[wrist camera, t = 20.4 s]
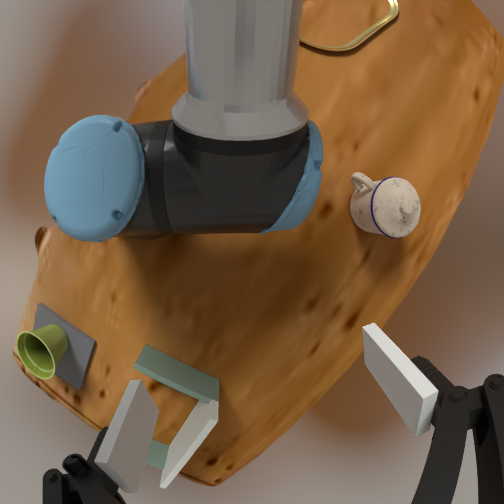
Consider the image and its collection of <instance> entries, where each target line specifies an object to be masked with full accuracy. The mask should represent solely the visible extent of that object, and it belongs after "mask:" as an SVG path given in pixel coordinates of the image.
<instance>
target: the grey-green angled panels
mask: <svg viewBox="0 0 504 504" xmlns="http://www.w3.org/2000/svg"><path fill="white" fill-rule="evenodd" d="M133 368H134V369H136V370H138V371H140V372H142V373H144V374H145V375H147V376H149V377H151V378H153V379H155V380H157V381H159V382H161V383H163V384H165V385H167V386H169V387H172V388H174V389H176V390H178V391H180V392H182V393H185V394H187V395H189V396H191V397H194V398H196V399H198V400H199V401H198V403H197V404H196V406H195V407H194V409H193V410H192V412H191V413H190V415H189V417H188V418H187V420H186V421H185V423H184V424H183V426H182V427H181V429H180V430H179V432H178V433H177V435H176V436H175V438H174V439H173V441H172V443H171V444H170V446H168V445H166V444H163V443H161V442H159V441H156V440H154V439H152V440H151V443H150V447H149V451H148V455H147V458H146V462H145V463H147V464H149V465H152V466H154V467H156V468H159V469H162V470H163V472H162V477H161V482H160V487H162V488H164V489H165V488H166V487H167V486H168V485H169V484H170V482H171V481H172V480H173V479H174V478H175V476H176V475H177V474H178V473H179V471H180V470H181V469H182V468H183V466H184V465H185V464H186V463H187V461H188V460H189V459H190V458H191V456H192V455H193V454H194V452H195V451H196V450H197V449H198V447H199V446H200V445H201V443H202V442H203V441H204V439H205V438H206V437H207V435H208V434H209V433H210V431H211V430H212V429H213V427H214V426H215V425H216V423H217V422H218V406H219V380H220V379H217V378H215V377H213V376H210V375H208V374H206V373H204V372H202V371H199V370H197V369H195V368H193V367H191V366H189V365H187V364H185V363H183V362H180V361H178V360H176V359H174V358H172V357H170V356H168V355H167V354H165V353H163V352H161V351H159V350H157V349H155V348H153V347H151V346H149V345H148V344H146V345H145V347H144V349H143V350H142V352H141V354H140V355H139V357H138V359H137V361H136V362H135V364H134V367H133Z"/></svg>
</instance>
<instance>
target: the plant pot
mask: <svg viewBox="0 0 504 504" xmlns="http://www.w3.org/2000/svg"><path fill="white" fill-rule="evenodd" d="M16 346H17V351H18V354H19V357H20V359H21V361H22V362H23V364H24V365H25V367H26V368H27V369H28V370H29V371H30V372H31V373H32V374H34V375H35V376H36V377H38V378H41V379H50V378H52V377H53V376H54V374H55V370H56V366H57V364H58V362H59V361H60V359H61V358H62V356H63V355H64V353H65V352H66V350H67V349H68V346H69V343H68V337H67V335H66V333H65V332H64V330H63V329H62V328H61V327H60V326H58V325H55V324H49V325H47V326H44V327H42V328H39V329H37V330H34V331H23V332H21V333H20V334H19V335H18V337H17V341H16Z"/></svg>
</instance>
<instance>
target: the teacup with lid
mask: <svg viewBox="0 0 504 504" xmlns="http://www.w3.org/2000/svg"><path fill="white" fill-rule="evenodd" d="M358 180H359V181H361V182H362V183H363V184H361V183H360V182H359V181H358ZM351 183H352V185H353V186H354V187H355V189H356V190H355V191H354V193H353V195H352V197H351V201H350V212H351V216H352V218H353V220H354V222H355V223H356V225H357V226H358V227H359V228H361V229H362V230H364V231H366V232H371V233H377V234H382V235H386V236H388V237H390V238H401V237H404V236H406V235H408V234H409V233H411V232H412V231H413V230H414V228H415V227H416V225H417V223H418V221H419V218H420V212H421V206H420V200H419V197H418V194H417V192H416V190H415V189H414V187H413V186H412V185H411V184H410V183H409V182H407V181H406V180H404V179H402V178H399V177H389V178H386V179H384V180H380V181H375V182H373V181H372V180H371V179H370V178H368V177H367V176H366V175H364V174H362V173H360V172H356V173H354V174H353V175H352V176H351Z"/></svg>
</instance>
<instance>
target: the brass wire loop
mask: <svg viewBox="0 0 504 504" xmlns="http://www.w3.org/2000/svg"><path fill="white" fill-rule="evenodd" d="M388 1H389V3H390V8H391V9H390V13H389V14H388V15H387V16H385V17H384V18H383V19H381V20H380V21H378V22H377V23H376V24H374V25H373V26H371V27H370V28H369V29H367V30H366V31H365V32H363V33H362V34H361V35H359V36H358V37H357V38H355V39H354V40H353V41H351V42H350V43H348V44H346V45H343V46H338V47H328V46H322V45H318V44H315V43H312V42H309V41H307V40H305V39H303V38H302V37H300V40H299V41H301V42H303V43H305V44H307V45H309V46H312V47H315V48H318V49H322V50H327V51H346V50H350V49H353V48H355V47H357V46H359V45H360V44H361V43H362V42H364V41H365V40H366V39H367V38H369V37H370V36H371V35H372V34H374V33H375V32H376V31H378V30H379V29H380V28H382V27H383V26H384V25H386V24H387V23H388V22H390V21H391V20H392V19H394V18H395V17H396V16H397V14H398V4H397V2H396V0H388ZM326 48H327V49H326Z"/></svg>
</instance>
